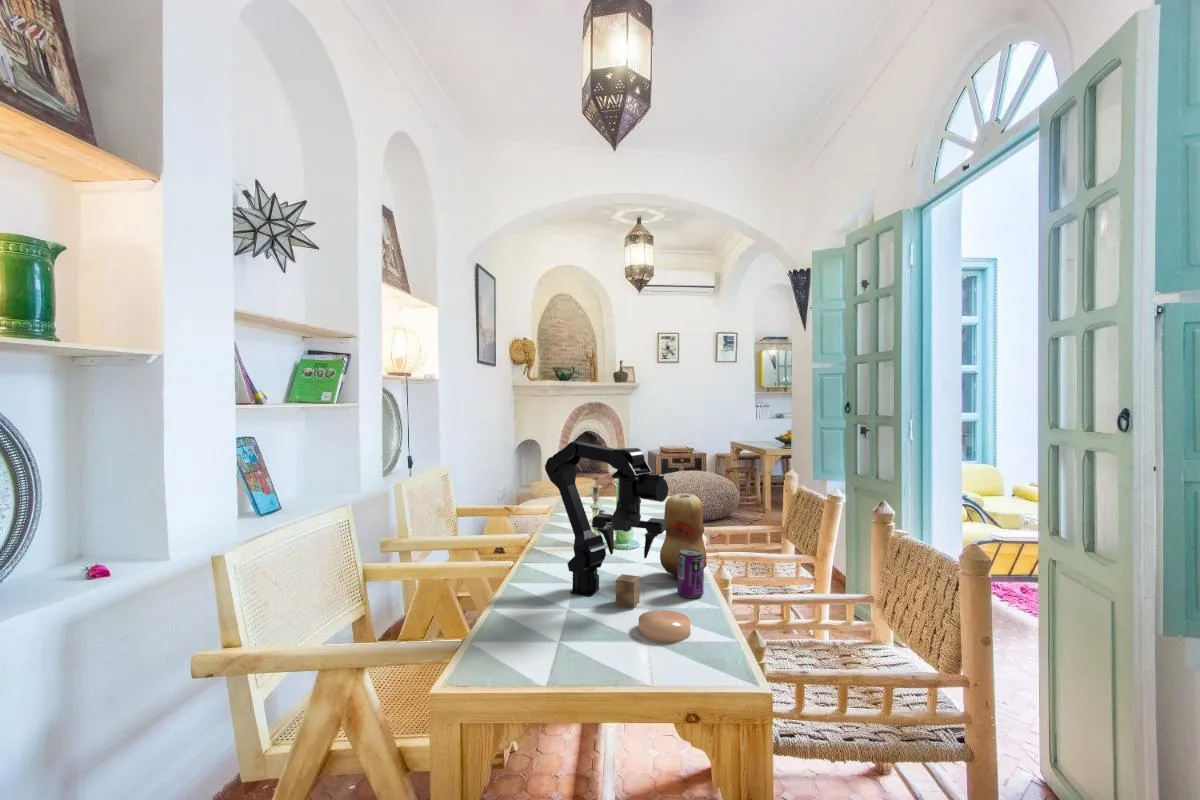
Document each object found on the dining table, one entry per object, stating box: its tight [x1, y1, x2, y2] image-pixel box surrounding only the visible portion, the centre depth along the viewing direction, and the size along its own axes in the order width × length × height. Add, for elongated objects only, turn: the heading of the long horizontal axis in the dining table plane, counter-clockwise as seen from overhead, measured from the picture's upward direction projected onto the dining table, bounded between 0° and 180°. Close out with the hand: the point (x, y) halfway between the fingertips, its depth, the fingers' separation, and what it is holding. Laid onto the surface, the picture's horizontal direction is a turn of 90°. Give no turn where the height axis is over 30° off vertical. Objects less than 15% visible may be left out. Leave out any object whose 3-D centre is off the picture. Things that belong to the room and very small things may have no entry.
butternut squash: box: [659, 492, 708, 579], centre depth 173 cm, size 14×13×25 cm
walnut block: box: [615, 573, 641, 609], centre depth 151 cm, size 5×5×7 cm
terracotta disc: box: [638, 609, 691, 644], centre depth 134 cm, size 12×12×3 cm
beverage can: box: [676, 549, 705, 599], centre depth 158 cm, size 7×7×12 cm
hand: (628, 556), depth 151 cm, fingers open, 9 cm apart
